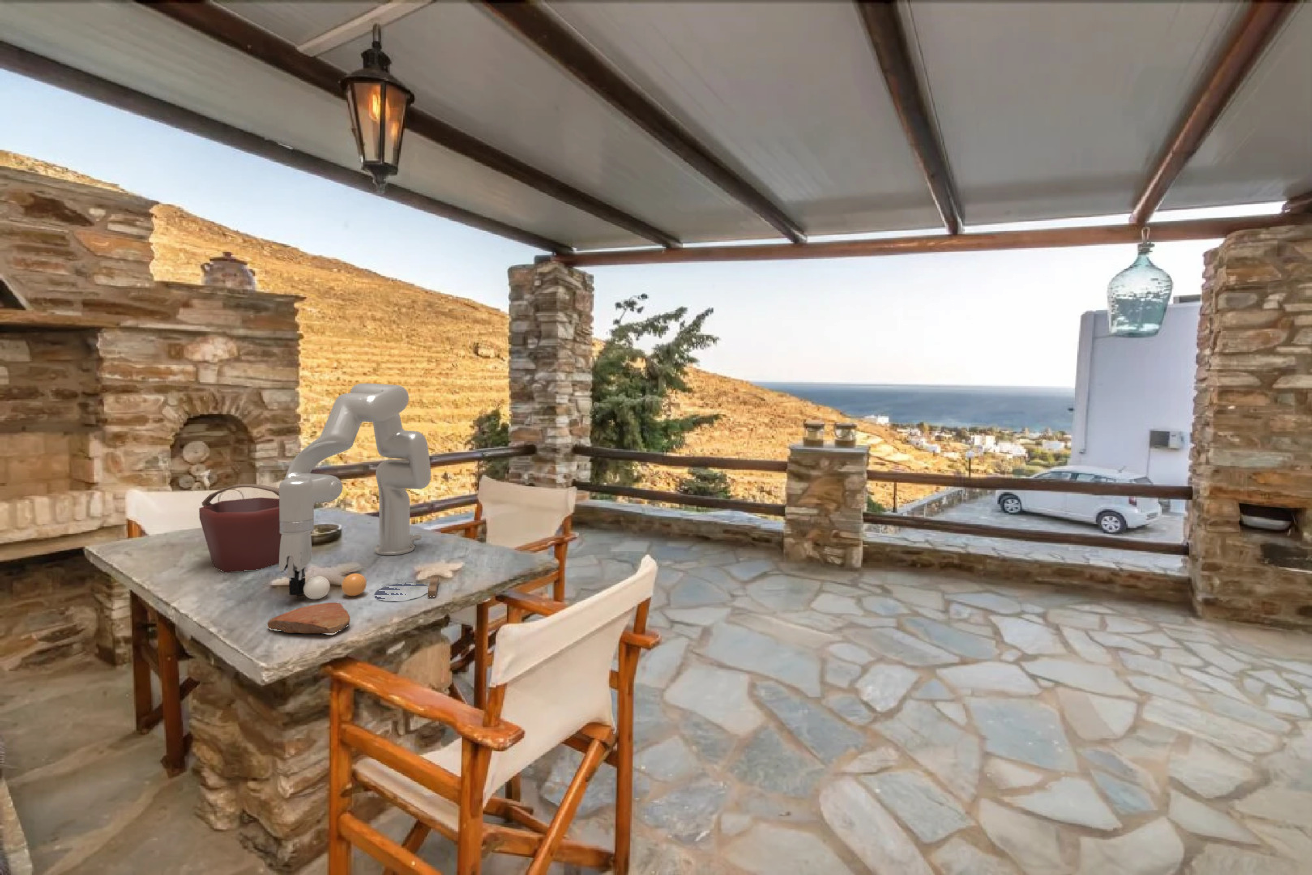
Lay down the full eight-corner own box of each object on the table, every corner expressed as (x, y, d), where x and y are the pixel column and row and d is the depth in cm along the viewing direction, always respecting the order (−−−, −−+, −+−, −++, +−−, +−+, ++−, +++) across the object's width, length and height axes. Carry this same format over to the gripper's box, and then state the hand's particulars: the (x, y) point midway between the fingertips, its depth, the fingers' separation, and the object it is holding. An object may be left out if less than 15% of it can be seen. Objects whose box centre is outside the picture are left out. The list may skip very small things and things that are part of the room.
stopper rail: (431, 582, 160) (431, 576, 160) (438, 582, 160) (438, 575, 160) (427, 598, 148) (427, 591, 148) (435, 597, 149) (435, 590, 149)
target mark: (407, 579, 161) (407, 579, 161) (440, 589, 155) (440, 588, 155) (362, 594, 149) (362, 594, 149) (397, 606, 143) (397, 605, 143)
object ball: (357, 589, 152) (357, 568, 152) (371, 594, 150) (371, 573, 149) (336, 596, 147) (336, 575, 146) (350, 601, 144) (350, 579, 144)
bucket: (311, 556, 179) (310, 481, 176) (255, 579, 157) (253, 494, 154) (242, 550, 181) (240, 476, 179) (178, 572, 159) (175, 488, 157)
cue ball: (310, 582, 148) (334, 578, 149) (308, 603, 145) (332, 599, 146) (300, 575, 143) (325, 571, 144) (297, 597, 140) (323, 593, 141)
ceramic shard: (286, 628, 117) (264, 617, 127) (293, 656, 118) (271, 643, 127) (357, 600, 128) (332, 592, 138) (363, 626, 129) (338, 616, 139)
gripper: (290, 519, 148) (291, 584, 150) (268, 533, 134) (269, 605, 136) (321, 518, 151) (322, 583, 152) (303, 532, 136) (303, 603, 138)
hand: (297, 593), depth 144 cm, fingers closed
